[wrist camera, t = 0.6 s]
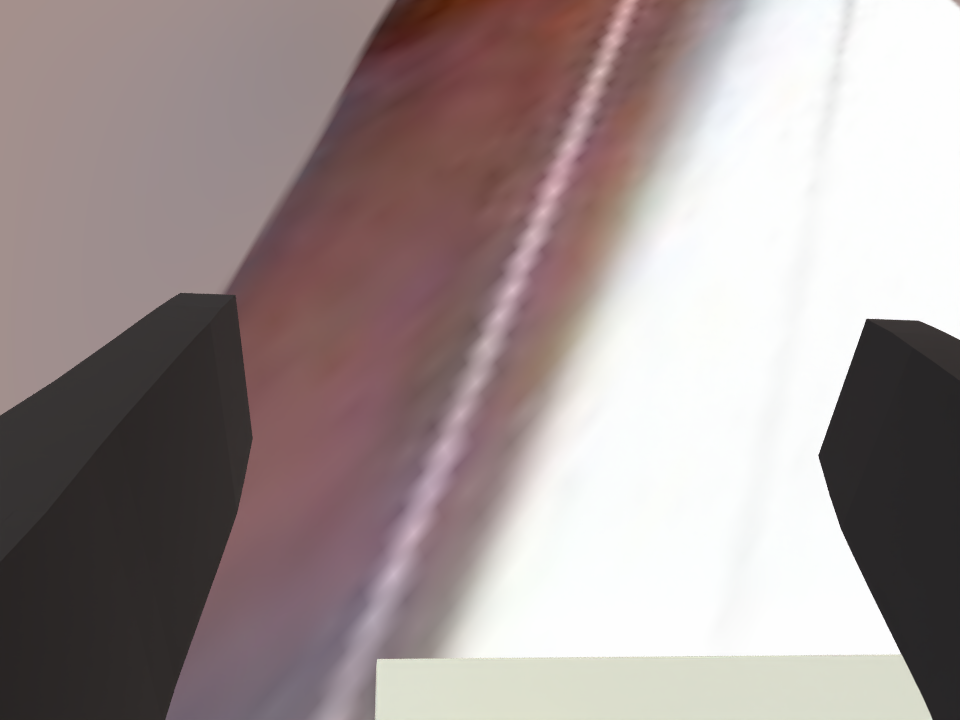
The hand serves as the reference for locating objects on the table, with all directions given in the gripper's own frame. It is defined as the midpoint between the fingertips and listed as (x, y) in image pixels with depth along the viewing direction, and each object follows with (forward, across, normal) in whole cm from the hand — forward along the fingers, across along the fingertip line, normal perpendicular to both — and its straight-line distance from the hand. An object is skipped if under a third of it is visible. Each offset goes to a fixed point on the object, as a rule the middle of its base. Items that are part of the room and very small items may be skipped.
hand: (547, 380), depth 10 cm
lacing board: (+3, -6, +17) cm, 19 cm away
